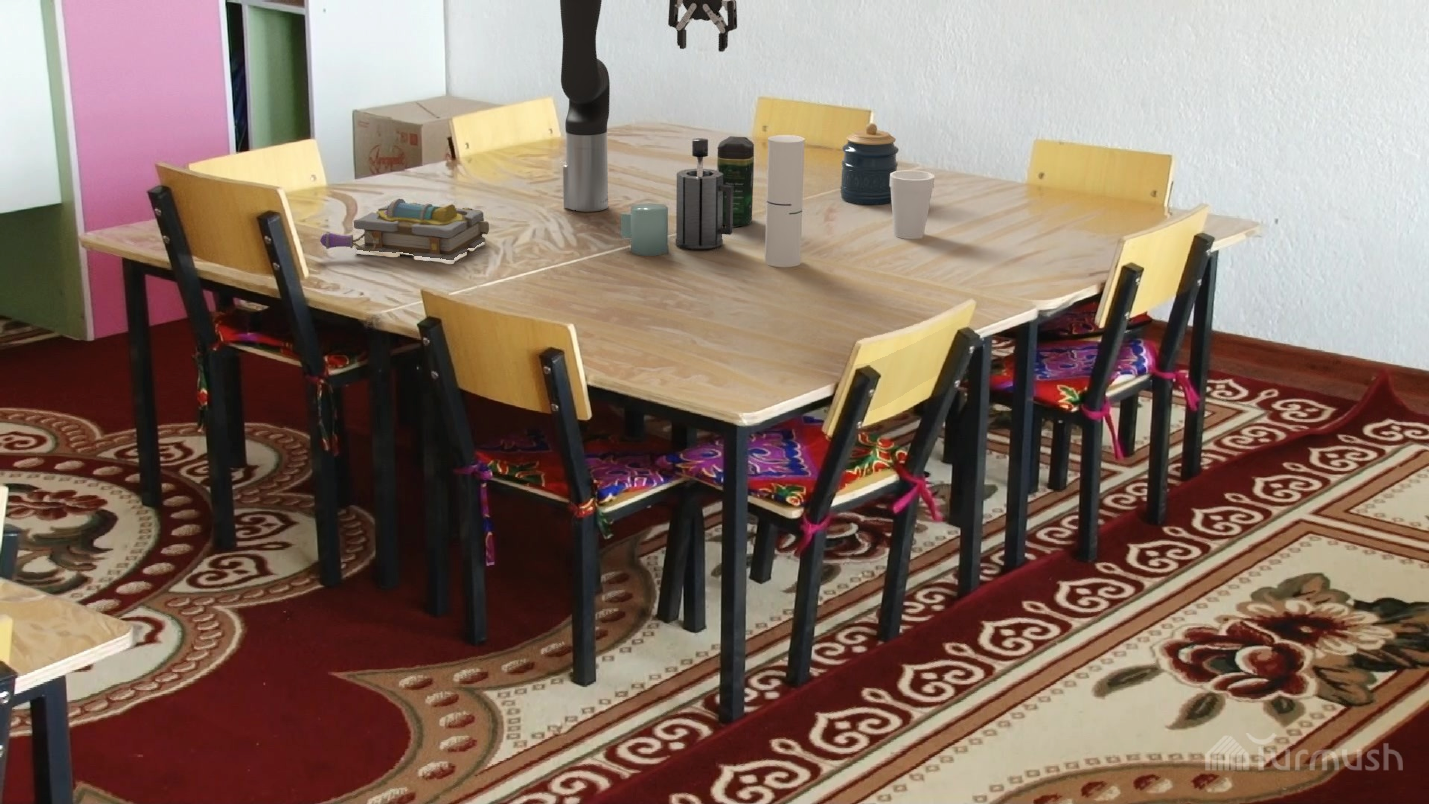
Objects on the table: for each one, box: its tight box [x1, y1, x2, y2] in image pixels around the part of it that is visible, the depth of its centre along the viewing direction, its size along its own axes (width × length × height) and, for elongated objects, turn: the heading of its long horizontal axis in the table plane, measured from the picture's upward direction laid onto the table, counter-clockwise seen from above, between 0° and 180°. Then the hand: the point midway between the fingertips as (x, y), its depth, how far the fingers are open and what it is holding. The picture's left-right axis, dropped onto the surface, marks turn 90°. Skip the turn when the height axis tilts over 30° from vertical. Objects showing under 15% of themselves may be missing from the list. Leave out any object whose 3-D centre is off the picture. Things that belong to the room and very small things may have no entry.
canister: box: [840, 122, 900, 206], centre depth 363 cm, size 13×13×18 cm
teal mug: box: [620, 202, 669, 257], centre depth 322 cm, size 10×8×9 cm
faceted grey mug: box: [675, 168, 734, 252], centre depth 325 cm, size 12×10×15 cm
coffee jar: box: [716, 135, 755, 228], centre depth 342 cm, size 10×8×19 cm
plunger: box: [691, 137, 709, 177], centre depth 323 cm, size 4×4×18 cm
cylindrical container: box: [764, 134, 806, 268], centre depth 312 cm, size 7×7×25 cm
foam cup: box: [890, 169, 935, 240], centre depth 335 cm, size 10×9×13 cm
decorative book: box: [319, 198, 490, 260], centre depth 320 cm, size 25×26×11 cm
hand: (702, 49), depth 326 cm, fingers open, 8 cm apart
